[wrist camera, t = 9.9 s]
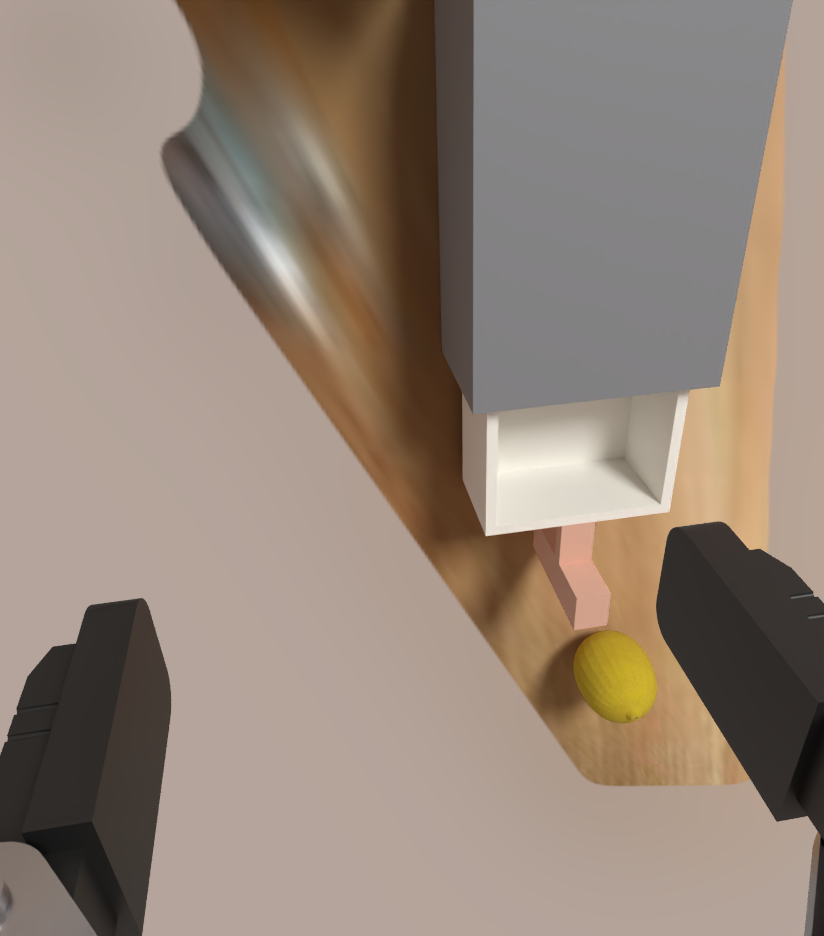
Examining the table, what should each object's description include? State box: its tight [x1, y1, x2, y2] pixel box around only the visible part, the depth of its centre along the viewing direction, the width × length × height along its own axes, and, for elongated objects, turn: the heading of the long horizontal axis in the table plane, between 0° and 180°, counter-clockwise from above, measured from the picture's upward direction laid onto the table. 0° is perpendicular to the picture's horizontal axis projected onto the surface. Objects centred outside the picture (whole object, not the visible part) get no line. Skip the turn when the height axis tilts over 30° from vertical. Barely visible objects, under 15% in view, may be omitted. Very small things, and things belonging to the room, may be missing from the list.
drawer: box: [462, 390, 689, 630], centre depth 42 cm, size 24×11×9 cm, turn 3°
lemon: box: [573, 631, 657, 723], centre depth 56 cm, size 6×6×8 cm
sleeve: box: [434, 0, 793, 414], centre depth 37 cm, size 20×13×8 cm, turn 3°
